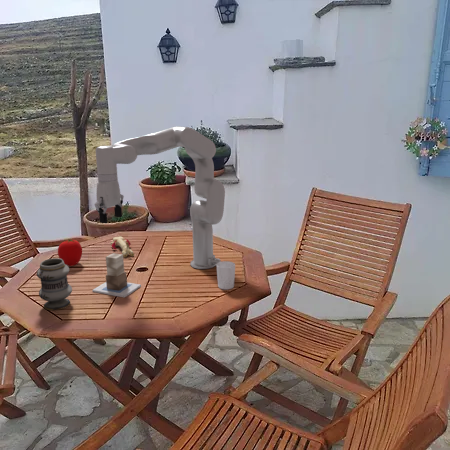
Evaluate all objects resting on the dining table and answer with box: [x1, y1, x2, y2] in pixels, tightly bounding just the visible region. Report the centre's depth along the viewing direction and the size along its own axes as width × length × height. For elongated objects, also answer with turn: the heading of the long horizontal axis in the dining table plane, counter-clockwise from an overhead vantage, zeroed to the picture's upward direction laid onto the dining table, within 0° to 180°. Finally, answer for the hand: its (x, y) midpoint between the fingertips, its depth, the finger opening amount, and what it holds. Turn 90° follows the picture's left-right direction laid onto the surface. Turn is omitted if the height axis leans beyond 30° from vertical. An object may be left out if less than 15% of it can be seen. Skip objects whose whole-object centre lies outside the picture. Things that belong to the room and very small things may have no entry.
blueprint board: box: [92, 281, 142, 298], centre depth 186 cm, size 16×12×1 cm
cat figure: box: [109, 235, 135, 259], centre depth 234 cm, size 10×9×25 cm
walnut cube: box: [105, 271, 128, 291], centre depth 185 cm, size 6×6×6 cm
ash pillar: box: [105, 253, 125, 277], centre depth 183 cm, size 5×5×8 cm
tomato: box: [57, 239, 83, 267], centre depth 212 cm, size 11×11×13 cm
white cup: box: [215, 260, 236, 290], centre depth 186 cm, size 8×8×10 cm
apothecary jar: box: [36, 257, 73, 311], centre depth 170 cm, size 12×12×18 cm
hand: (111, 219), depth 178 cm, fingers open, 9 cm apart
